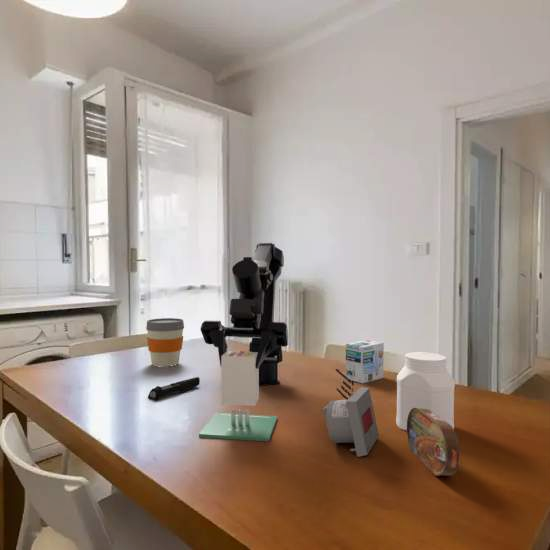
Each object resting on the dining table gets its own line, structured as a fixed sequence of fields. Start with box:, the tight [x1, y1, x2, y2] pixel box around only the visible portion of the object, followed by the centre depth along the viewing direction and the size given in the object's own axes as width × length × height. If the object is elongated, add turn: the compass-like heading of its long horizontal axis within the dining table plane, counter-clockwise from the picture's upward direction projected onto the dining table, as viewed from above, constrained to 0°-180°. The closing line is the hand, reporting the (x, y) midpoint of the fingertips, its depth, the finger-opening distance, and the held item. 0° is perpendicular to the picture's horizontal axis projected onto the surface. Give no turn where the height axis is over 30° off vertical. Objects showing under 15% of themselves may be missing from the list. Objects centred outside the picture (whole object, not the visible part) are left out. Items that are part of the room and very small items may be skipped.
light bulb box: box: [345, 339, 385, 384], centre depth 125 cm, size 11×7×11 cm, turn 131°
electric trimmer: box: [147, 376, 201, 401], centre depth 111 cm, size 4×16×3 cm, turn 141°
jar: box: [395, 351, 456, 431], centre depth 88 cm, size 12×10×15 cm
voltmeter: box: [321, 368, 380, 458], centre depth 86 cm, size 27×11×10 cm, turn 9°
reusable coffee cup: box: [145, 317, 185, 367], centre depth 142 cm, size 13×13×15 cm
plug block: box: [220, 350, 260, 407], centre depth 87 cm, size 4×7×10 cm, turn 82°
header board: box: [198, 408, 278, 442], centre depth 87 cm, size 12×14×4 cm
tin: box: [406, 408, 461, 477], centre depth 72 cm, size 15×3×8 cm, turn 5°
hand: (238, 367), depth 86 cm, fingers closed on plug block, 7 cm apart
